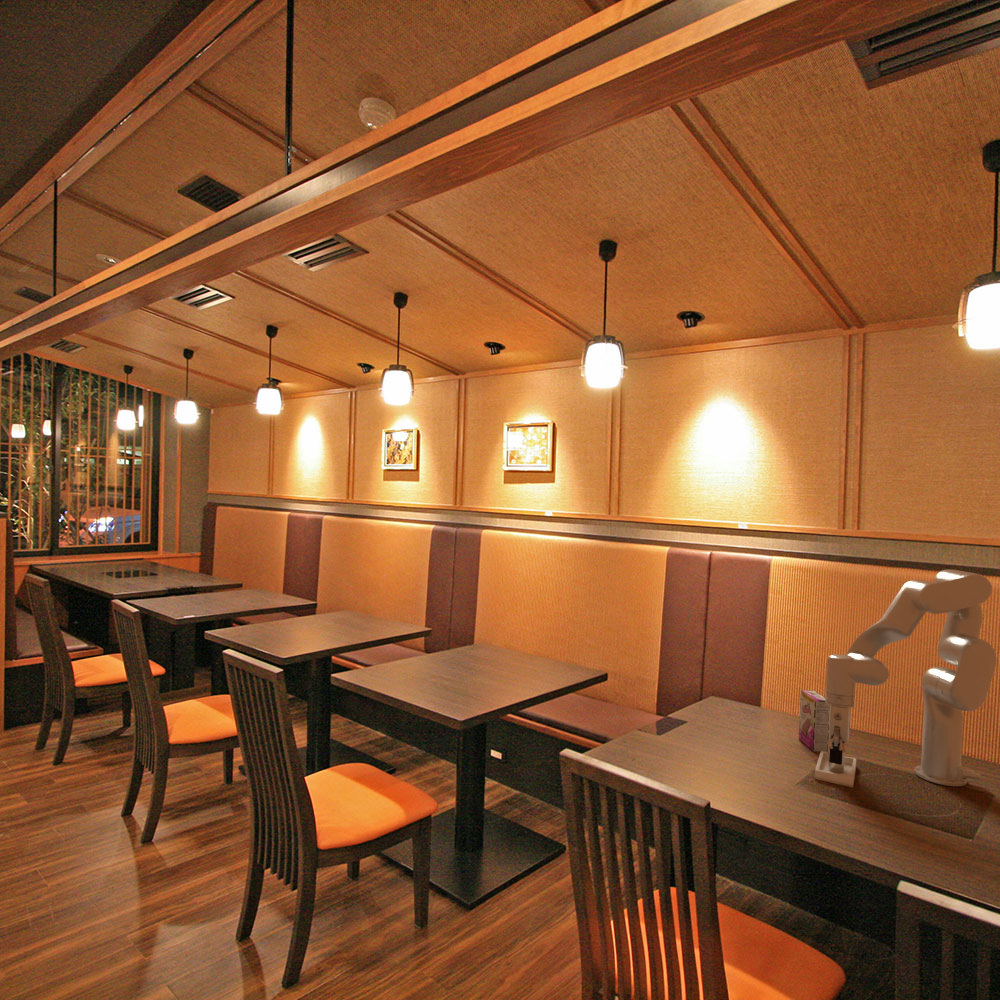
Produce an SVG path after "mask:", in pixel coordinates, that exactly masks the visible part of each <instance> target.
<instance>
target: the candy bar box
mask: <svg viewBox="0 0 1000 1000" xmlns="http://www.w3.org/2000/svg"><path fill="white" fill-rule="evenodd" d="M798 726H799V727H798V728H799V729H798V740H799V741H801V743H802V744H803V745H805V746H806V747H808V748H809V750H811V751H812V752H813V753H820V752H821V751H823V752H828V753H829V704H827V703H826V702H825V696H823V695H822V694H820V693H818V692H817V691H816V690H806V689H805V690H804V689H802V690H800V702H799V725H798Z"/></svg>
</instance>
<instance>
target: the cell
mask: <svg viewBox="0 0 1000 1000" xmlns="http://www.w3.org/2000/svg"><path fill="white" fill-rule="evenodd" d="M839 743H840V742H839ZM839 747H840V746H839ZM830 748H831V740H830V741H829V742H828V753H829V755H830ZM842 750H843V752H842V764H841V765H839V764H835V763H830V762H829V767H828V770H829V771H831V772H834V773H839V774H842V773H844V759H845V756H846V743H843V742H842Z"/></svg>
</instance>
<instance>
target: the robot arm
mask: <svg viewBox="0 0 1000 1000" xmlns="http://www.w3.org/2000/svg"><path fill="white" fill-rule="evenodd" d="M992 593H993V585H992V583H991V581H990V580H989V579H988V578H987V577H986V576H984V575H982V574H979V573H977V572H971V571H970V572H969V571H963V570H957V569H943V570H940V571H939V572H937V574H936V575H935V577H934V582H932V581H928V580H927V581H926V580H920V579H911V580H909V581H906V582H905V583H904V584H903V585H902V586H901V588H900V589H899V591H898V592H897V594H896V595H895V597H894V598H893V600H892V601H891V603H890V604H889V606H888V607H887V608H886V611H885V612H884V613H883V615H882V616H881V618H880V619H879V620H878V621H877V622H875V623H873V624H872V625H871V626H869V627H868V628H866V630H864V631H863V632H861V633H860V634H859V635H858V636H857V637H856V638H855V640H854V641H853V642H852V643H851V645H850V647H849V649H848V650H847V651H846V653H845V654H839V653H838V654H830V655H829V656H827V658H826V659H827V661H826V674H825V675H826V676H825V677H826V678H825V693H824V695H825V696H824V698H825V702H826V703H827V704H829V737H828V740H830V741H831V748H830V755H829V762H830V763H835V764H839V765H841V764H842V752H843V750H842V742H843V743H845V744H847V743H848V742H849V738H850V724H851V708H854V707H855V695H856V694H855V693H856V683H857V684H863V685H867V686H873V687H874V686H880V685H883V684H884V683H886V682H887V681H888V679H889V678H890V677H889V675H890V673H889V668H888V667H887V666H886V664H884V663H883V661H880V660H879V659H876V658H875V656H876V655H877V654H878V652H879V651H880V650H881V649H882V648H885V647H886V646H887V645H889V644H893V643H896V642H900V641H903V640H906V639H908V638H910V637H911V636H912V635H913V633H914V631H915V630H916V628H917V627H918V626H919V624H920V623H921V620H922V619H923V617H924V616H925V614H926V613H929V614H934V615H935V614H936V615H937V614H940V615H941V614H946V617H945V621H944V626H943V628H942V632H941V636H940V638H939V641H938V644H937V645H938V646H937V650H936V651H937V654H938V656H939V659H941V660H942V661H943V662H945V663H948V664H949V665H952V666H954V667H956V670H954V669H951V668H948V667H945V666H933V667H931V668H929V669H927V670H926V671H925V672H924V674H923V675H922V677H921V692H922V697H923V719H922V720H923V721H922V737H921V738H922V739H921V740H922V741H921V742H922V743H921V760H920V765H917V766H914V774H915V775H917V776H918V777H920V778H921V779H923V780H925V781H928V782H930V783H934V784H938V785H942V786H948V787H963V786H966V785H967V781H968V780H967V778H968V779H970V780H971V779H972V780H974V781H981V773H978V772H975V770H971V769H966V768H964V767H963V765H962V749H963V747H962V745H963V744H962V743H963V727H964V715H963V712H967V713H968V712H975V711H976V710H979V709H980V707H982V706H983V704H985V703H984V702H985V701H986V699H987V696H988V693H989V690H990V687H991V683H992V680H993V677H994V674H995V671H996V667H997V660H998V659H997V653H996V651H995V649H994V647H993V645H991V643H989V642H988V641H986V640H984V639H982V638H980V632H981V628H982V625H983V618H984V617H983V611H982V607H981V604H983V603H985V602H986V601H988V600H989V598H990V597H991V596H992ZM839 742H840V743H839ZM839 746H840V747H839Z"/></svg>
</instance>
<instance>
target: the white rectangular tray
mask: <svg viewBox="0 0 1000 1000" xmlns="http://www.w3.org/2000/svg"><path fill="white" fill-rule="evenodd" d="M828 767H829V751H828V752H823V751H821V752H819V756H818V759H817V762H816V766H815V769H814V779H815V780H818V781H823V782H826V783H827V782H828V783H831V784H835V785H840V786H844V787H849V788H854V784H855V777H856V770H857V758H855V757H851V756H847V755H845V759H844V773H842V774H839V773H834V772H831V771H829V770H828Z"/></svg>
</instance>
